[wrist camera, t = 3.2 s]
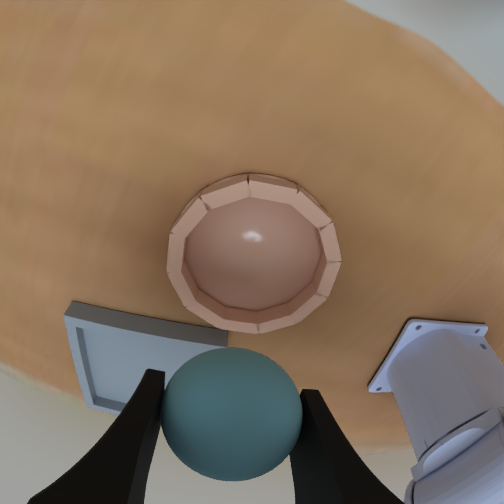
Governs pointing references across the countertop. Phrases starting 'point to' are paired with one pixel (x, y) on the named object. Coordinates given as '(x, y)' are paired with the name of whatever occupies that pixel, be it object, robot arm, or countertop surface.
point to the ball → (231, 414)
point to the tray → (128, 351)
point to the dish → (253, 254)
